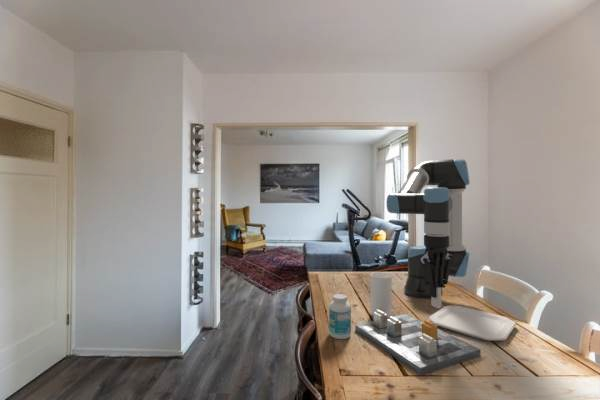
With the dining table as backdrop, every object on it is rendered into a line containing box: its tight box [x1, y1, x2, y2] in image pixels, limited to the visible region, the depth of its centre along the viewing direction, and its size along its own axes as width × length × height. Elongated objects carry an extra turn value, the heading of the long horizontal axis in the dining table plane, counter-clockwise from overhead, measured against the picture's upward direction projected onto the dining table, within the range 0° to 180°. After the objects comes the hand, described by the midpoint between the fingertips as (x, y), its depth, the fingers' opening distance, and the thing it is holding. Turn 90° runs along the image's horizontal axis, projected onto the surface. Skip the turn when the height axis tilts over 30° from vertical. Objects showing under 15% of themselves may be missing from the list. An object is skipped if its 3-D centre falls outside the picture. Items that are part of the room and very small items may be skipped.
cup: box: [370, 272, 393, 318], centre depth 122 cm, size 8×8×16 cm
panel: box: [354, 309, 481, 377], centre depth 99 cm, size 24×30×7 cm
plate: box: [428, 305, 517, 342], centre depth 112 cm, size 25×25×2 cm
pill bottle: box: [328, 293, 352, 340], centre depth 104 cm, size 8×7×14 cm
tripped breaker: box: [422, 319, 438, 339], centre depth 97 cm, size 3×4×5 cm
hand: (436, 306), depth 99 cm, fingers closed
